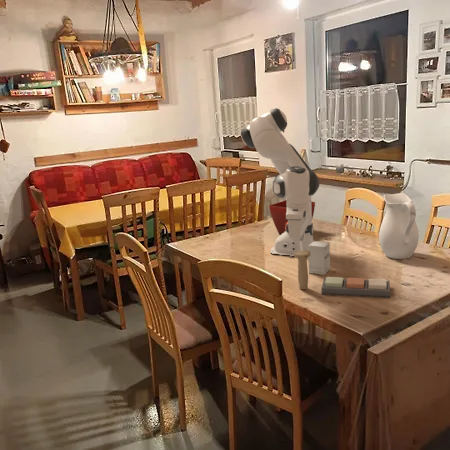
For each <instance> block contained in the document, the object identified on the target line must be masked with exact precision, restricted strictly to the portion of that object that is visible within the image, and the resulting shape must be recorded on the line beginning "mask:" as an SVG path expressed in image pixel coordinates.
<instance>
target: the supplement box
mask: <svg viewBox="0 0 450 450" xmlns="http://www.w3.org/2000/svg"><path fill="white" fill-rule="evenodd" d="M313 241H314V242H312V243H311V244H310V245H309V246H308V251H309V252H310V256H309V257H308V258H307V260H308V274H313V273H315V274H314V275H320V276H321V275H322V276H325V275H326V274H328V272H329V271H330V270H331V250H330V242H328V241H316V240H313Z"/></svg>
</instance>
